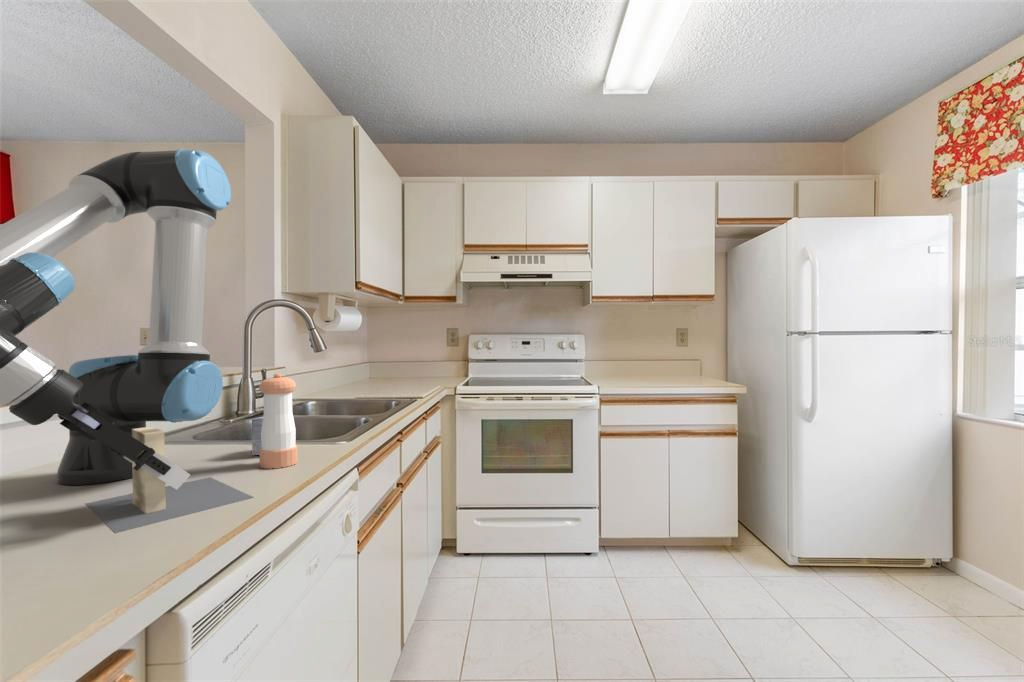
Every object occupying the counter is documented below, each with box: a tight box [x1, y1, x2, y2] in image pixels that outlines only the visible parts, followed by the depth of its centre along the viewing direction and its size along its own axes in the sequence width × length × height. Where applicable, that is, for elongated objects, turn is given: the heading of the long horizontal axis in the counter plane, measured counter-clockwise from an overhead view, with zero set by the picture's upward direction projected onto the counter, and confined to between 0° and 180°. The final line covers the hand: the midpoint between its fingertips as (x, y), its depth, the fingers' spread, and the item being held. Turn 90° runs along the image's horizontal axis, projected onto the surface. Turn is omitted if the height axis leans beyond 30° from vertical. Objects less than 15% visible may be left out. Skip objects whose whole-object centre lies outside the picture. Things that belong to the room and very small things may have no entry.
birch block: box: [132, 426, 166, 513], centre depth 75 cm, size 7×2×12 cm, turn 51°
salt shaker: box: [258, 373, 299, 470], centre depth 101 cm, size 7×7×19 cm
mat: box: [84, 477, 255, 534], centre depth 78 cm, size 19×18×1 cm
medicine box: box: [251, 415, 264, 457], centre depth 112 cm, size 8×4×9 cm, turn 168°
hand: (173, 476), depth 78 cm, fingers open, 8 cm apart
